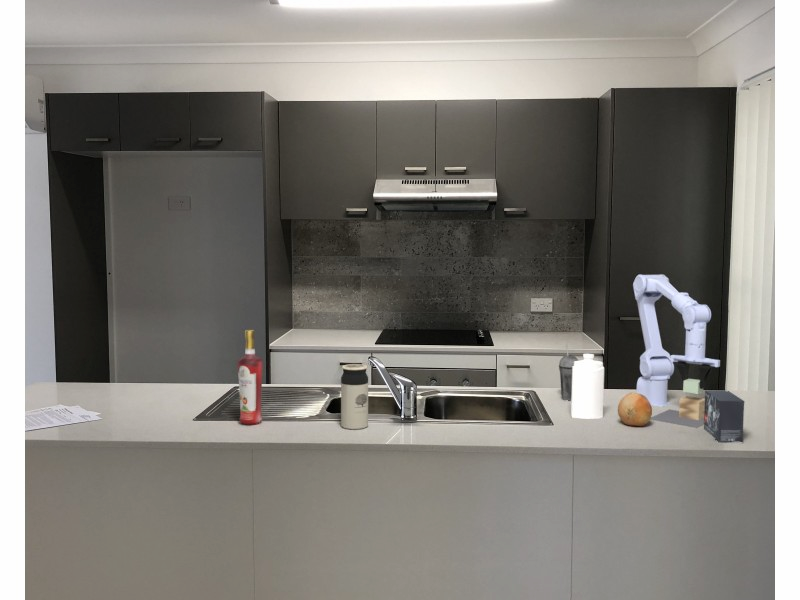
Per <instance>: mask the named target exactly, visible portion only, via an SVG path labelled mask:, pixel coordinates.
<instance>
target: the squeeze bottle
mask: <svg viewBox="0 0 800 600" xmlns="http://www.w3.org/2000/svg"><path fill="white" fill-rule="evenodd" d="M582 357H583V359H580V360H578V361H574V366H572V394H571V401H570V402H571V403H570V418H572V419H583V420H586V419H587V420H588V419H589V420H592V419H593V420H596V419H603V418H604V391H605V367H604V362H602V361H599V360H594V358H595V354H593V353H583V354H582Z"/></svg>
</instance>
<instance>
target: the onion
mask: <svg viewBox="0 0 800 600" xmlns="http://www.w3.org/2000/svg"><path fill="white" fill-rule="evenodd" d="M652 414H653V407H652V405H651V404H650V402H649V401H648V399H647V398H646V397H645V396H644V395H642V394H639V393H637V392H629V393H627V394H626V395H624V396H623V397H622V398H621V399H620V400H619V403H618V405H617V415H618V417H619V418H620V420H621V421H622V423H624V424H625V425H626V426H631V427H632V426H633V427H644V426H646V425H647V424H648V423H649V421H651V420H650V418H651V417H652Z"/></svg>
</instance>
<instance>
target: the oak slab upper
mask: <svg viewBox="0 0 800 600" xmlns="http://www.w3.org/2000/svg"><path fill="white" fill-rule="evenodd" d="M678 408H683V409H689V410H695V411H700V410H702V409H705V398H702V397H695V396H688V395H686V396H684V397H681V398H679V407H678Z"/></svg>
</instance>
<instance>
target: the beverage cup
mask: <svg viewBox="0 0 800 600" xmlns="http://www.w3.org/2000/svg"><path fill="white" fill-rule="evenodd" d="M565 350H566V354H565V355H564V356H562V358H561V359H560V360H559V364H558V370H559V377H560V392H561V393H560V394H561V400H562V399H563V401H566V400H569V402H571V394H572V366H574V361H579V359H578V358H577V357H576V356H575V355H572V354H569V346H568V342H565Z"/></svg>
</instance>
